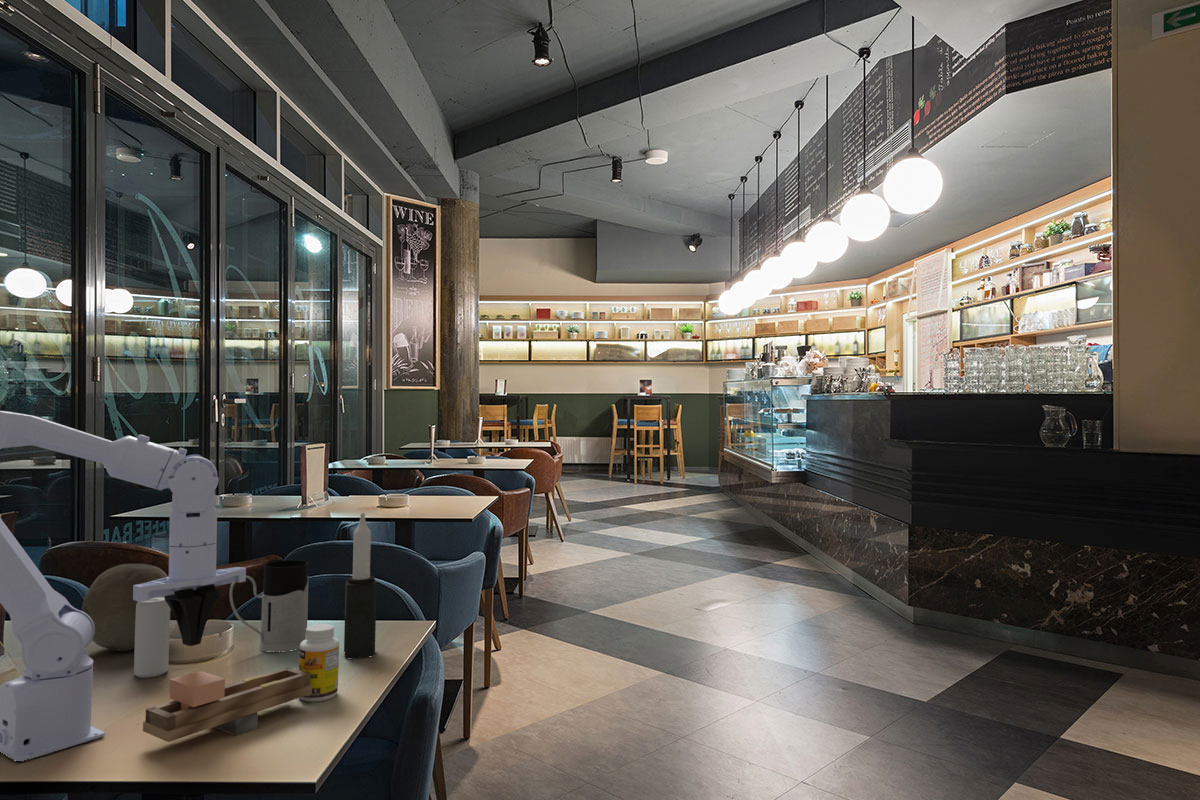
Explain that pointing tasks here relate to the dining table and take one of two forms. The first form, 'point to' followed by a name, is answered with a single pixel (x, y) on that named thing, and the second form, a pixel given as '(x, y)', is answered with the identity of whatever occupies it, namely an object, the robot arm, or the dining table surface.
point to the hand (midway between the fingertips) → (191, 644)
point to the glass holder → (282, 605)
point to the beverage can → (151, 637)
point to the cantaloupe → (117, 604)
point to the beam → (229, 706)
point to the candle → (360, 598)
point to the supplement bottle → (320, 661)
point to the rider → (196, 689)
